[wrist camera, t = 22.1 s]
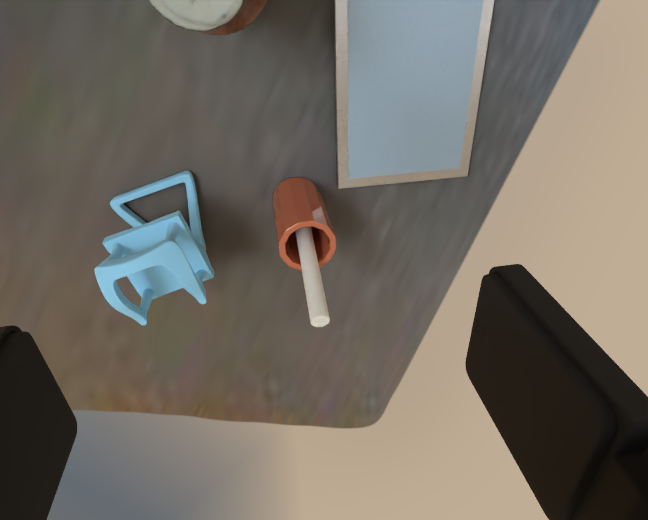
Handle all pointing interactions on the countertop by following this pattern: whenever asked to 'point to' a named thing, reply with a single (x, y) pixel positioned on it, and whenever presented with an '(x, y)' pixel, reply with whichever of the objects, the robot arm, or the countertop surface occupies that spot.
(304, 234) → the stylus
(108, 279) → the chair
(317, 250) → the pen pot
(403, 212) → the countertop surface
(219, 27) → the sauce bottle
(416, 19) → the plate
